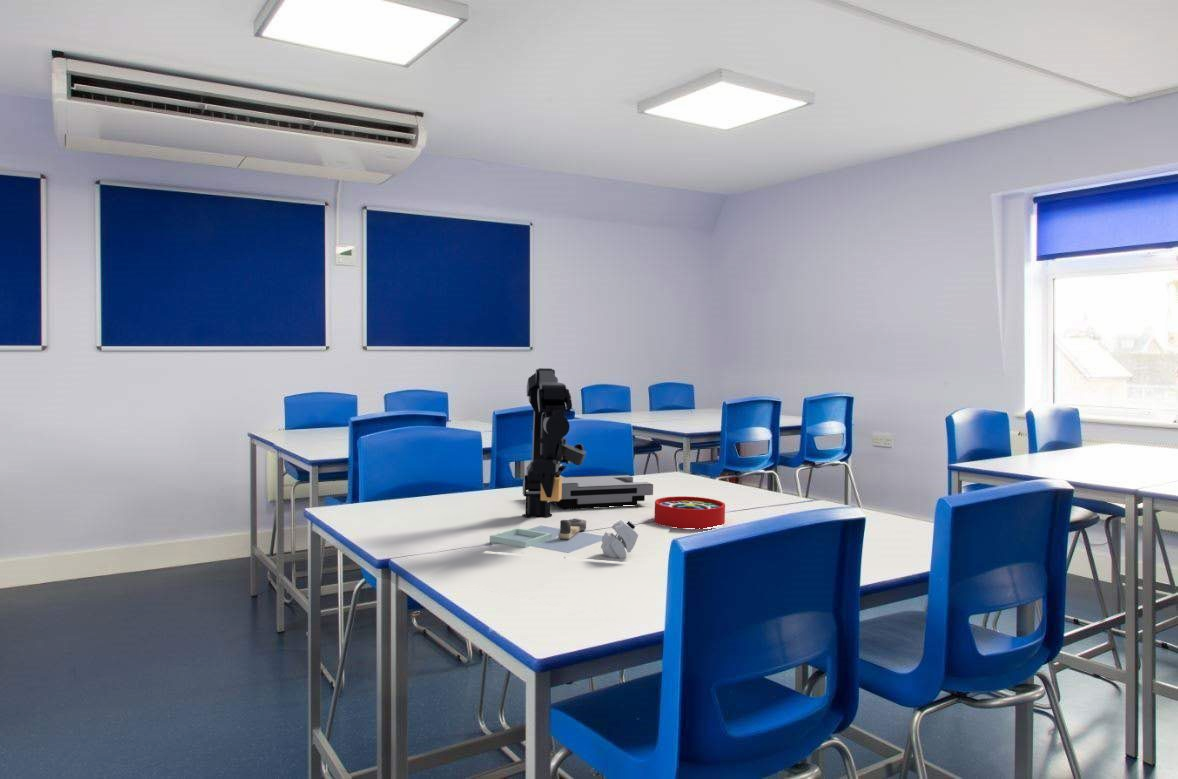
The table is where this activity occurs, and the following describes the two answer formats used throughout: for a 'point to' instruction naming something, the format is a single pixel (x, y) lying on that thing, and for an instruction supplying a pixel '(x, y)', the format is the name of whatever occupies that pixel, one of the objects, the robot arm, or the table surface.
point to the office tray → (601, 491)
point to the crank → (571, 527)
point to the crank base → (561, 540)
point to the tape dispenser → (619, 540)
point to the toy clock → (689, 512)
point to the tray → (502, 539)
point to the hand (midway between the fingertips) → (550, 495)
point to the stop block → (555, 493)
